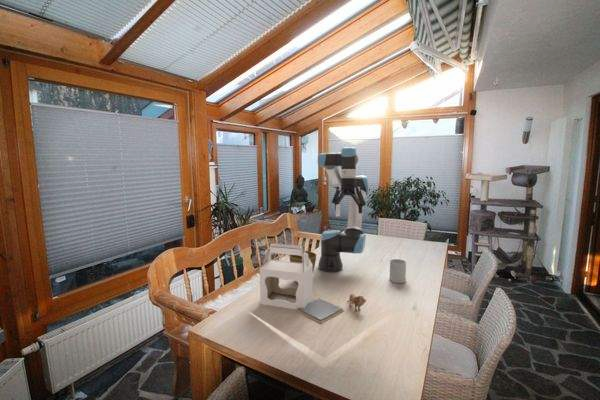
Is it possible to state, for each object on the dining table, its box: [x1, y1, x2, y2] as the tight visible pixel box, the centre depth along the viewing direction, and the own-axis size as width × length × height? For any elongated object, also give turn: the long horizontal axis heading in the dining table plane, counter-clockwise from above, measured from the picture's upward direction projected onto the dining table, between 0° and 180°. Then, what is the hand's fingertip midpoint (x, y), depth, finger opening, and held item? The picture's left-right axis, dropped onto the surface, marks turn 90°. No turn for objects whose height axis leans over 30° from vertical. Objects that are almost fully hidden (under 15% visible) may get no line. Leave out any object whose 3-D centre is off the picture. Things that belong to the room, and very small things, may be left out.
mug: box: [389, 258, 407, 284], centre depth 163 cm, size 12×8×11 cm
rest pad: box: [295, 298, 345, 324], centre depth 127 cm, size 15×15×1 cm
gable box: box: [259, 242, 314, 310], centre depth 136 cm, size 22×13×28 cm, turn 71°
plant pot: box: [288, 250, 317, 284], centre depth 158 cm, size 15×15×16 cm
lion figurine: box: [346, 293, 367, 313], centre depth 130 cm, size 12×4×7 cm, turn 27°
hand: (347, 217), depth 152 cm, fingers open, 13 cm apart
